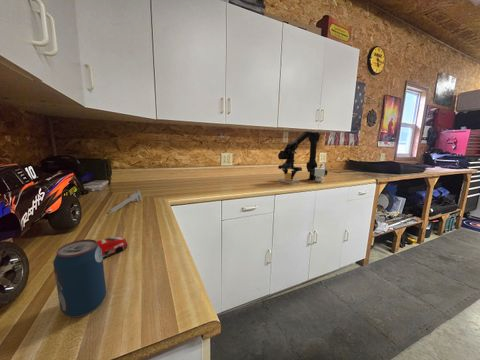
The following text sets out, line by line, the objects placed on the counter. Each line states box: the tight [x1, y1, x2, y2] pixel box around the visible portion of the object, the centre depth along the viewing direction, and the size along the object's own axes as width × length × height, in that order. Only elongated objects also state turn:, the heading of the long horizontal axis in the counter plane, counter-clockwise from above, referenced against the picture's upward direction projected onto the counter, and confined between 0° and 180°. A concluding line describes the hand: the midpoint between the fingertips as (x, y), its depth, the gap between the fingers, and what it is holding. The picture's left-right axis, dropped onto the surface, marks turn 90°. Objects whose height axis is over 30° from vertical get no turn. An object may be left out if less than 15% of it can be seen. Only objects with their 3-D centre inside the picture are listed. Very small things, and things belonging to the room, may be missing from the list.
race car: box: [96, 236, 128, 260], centre depth 55 cm, size 13×5×4 cm, turn 145°
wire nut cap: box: [283, 172, 294, 181], centre depth 167 cm, size 5×5×6 cm
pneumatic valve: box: [312, 166, 328, 183], centre depth 171 cm, size 6×12×12 cm, turn 78°
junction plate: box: [277, 178, 301, 185], centre depth 168 cm, size 13×13×4 cm
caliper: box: [107, 188, 142, 214], centre depth 96 cm, size 20×1×6 cm, turn 170°
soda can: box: [52, 238, 107, 318], centre depth 38 cm, size 7×7×12 cm
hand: (288, 178), depth 168 cm, fingers closed on wire nut cap, 5 cm apart
